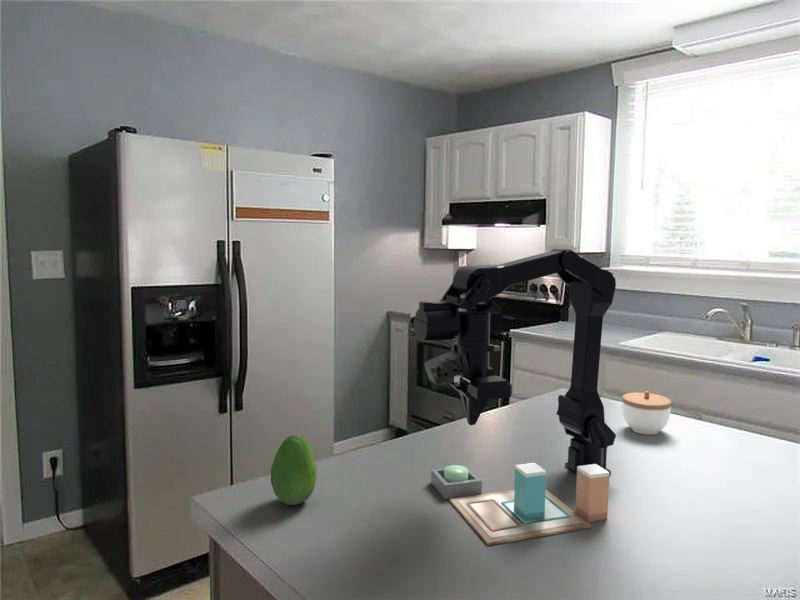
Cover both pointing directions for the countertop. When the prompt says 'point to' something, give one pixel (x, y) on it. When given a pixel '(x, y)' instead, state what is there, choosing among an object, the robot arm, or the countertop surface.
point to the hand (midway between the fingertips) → (471, 424)
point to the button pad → (456, 484)
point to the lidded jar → (646, 412)
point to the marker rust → (592, 492)
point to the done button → (455, 473)
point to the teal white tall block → (529, 491)
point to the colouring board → (514, 517)
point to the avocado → (294, 471)
